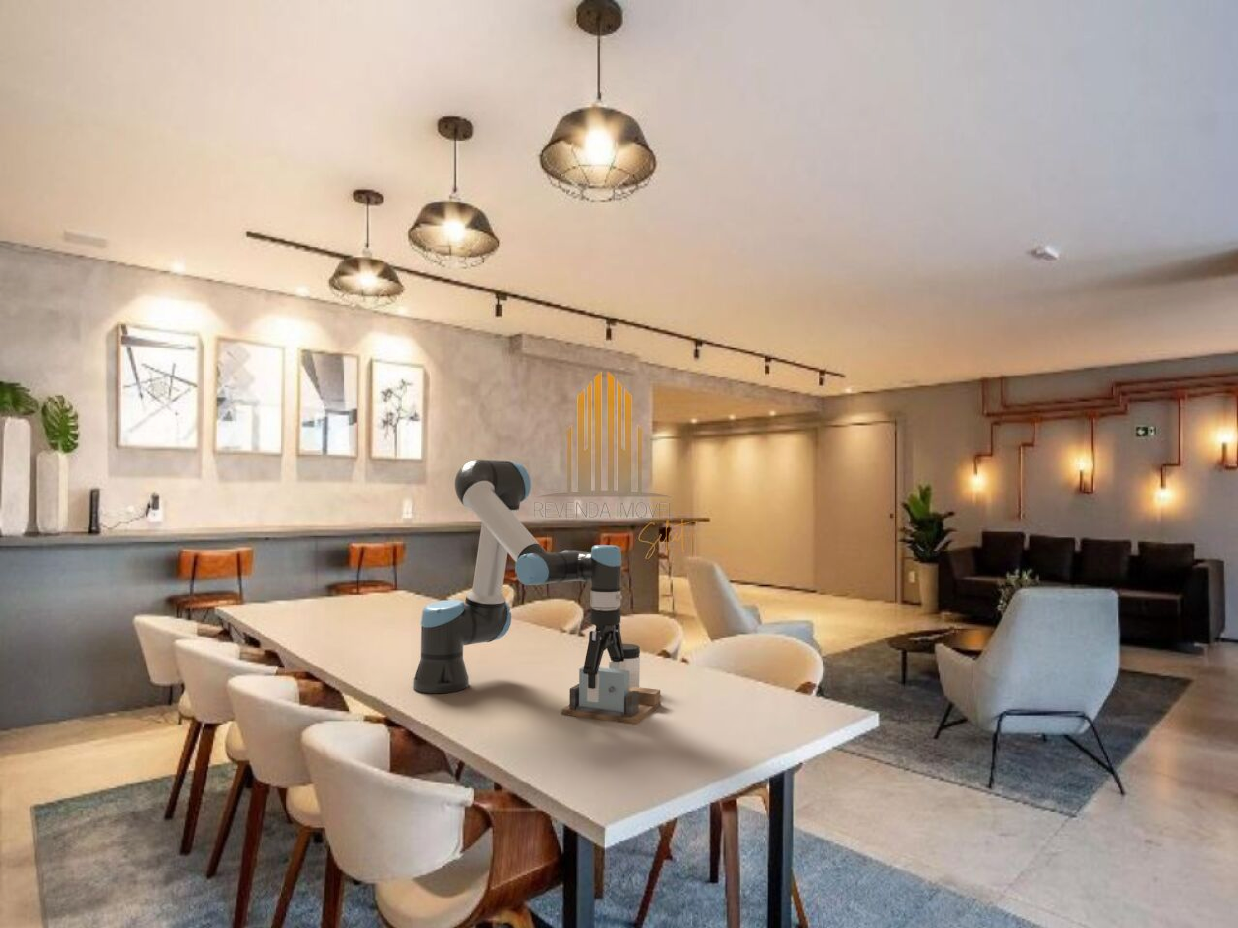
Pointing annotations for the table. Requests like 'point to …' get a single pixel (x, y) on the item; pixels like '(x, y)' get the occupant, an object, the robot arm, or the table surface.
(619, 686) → the door
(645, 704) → the brown piece
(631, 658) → the jar
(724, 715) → the table surface
